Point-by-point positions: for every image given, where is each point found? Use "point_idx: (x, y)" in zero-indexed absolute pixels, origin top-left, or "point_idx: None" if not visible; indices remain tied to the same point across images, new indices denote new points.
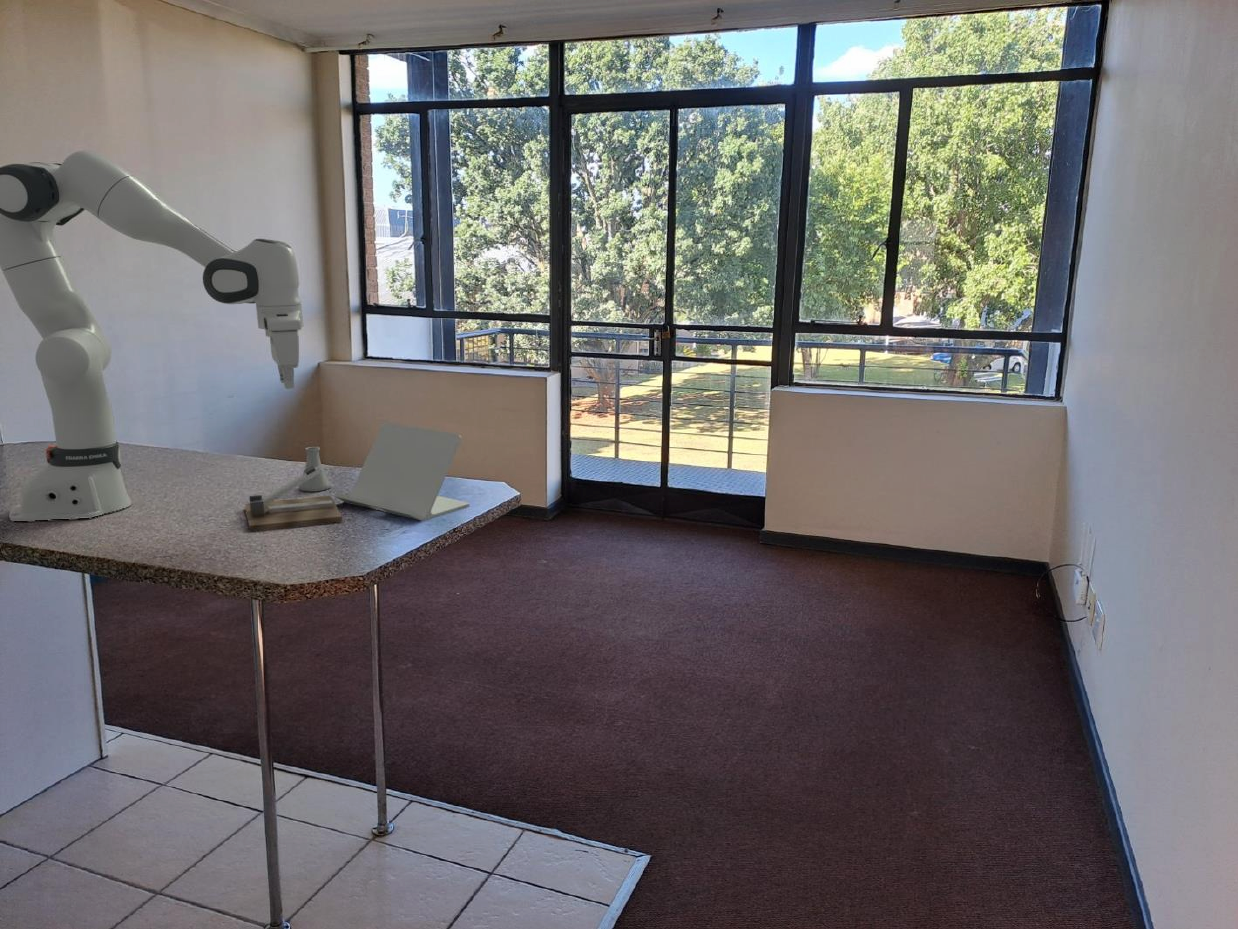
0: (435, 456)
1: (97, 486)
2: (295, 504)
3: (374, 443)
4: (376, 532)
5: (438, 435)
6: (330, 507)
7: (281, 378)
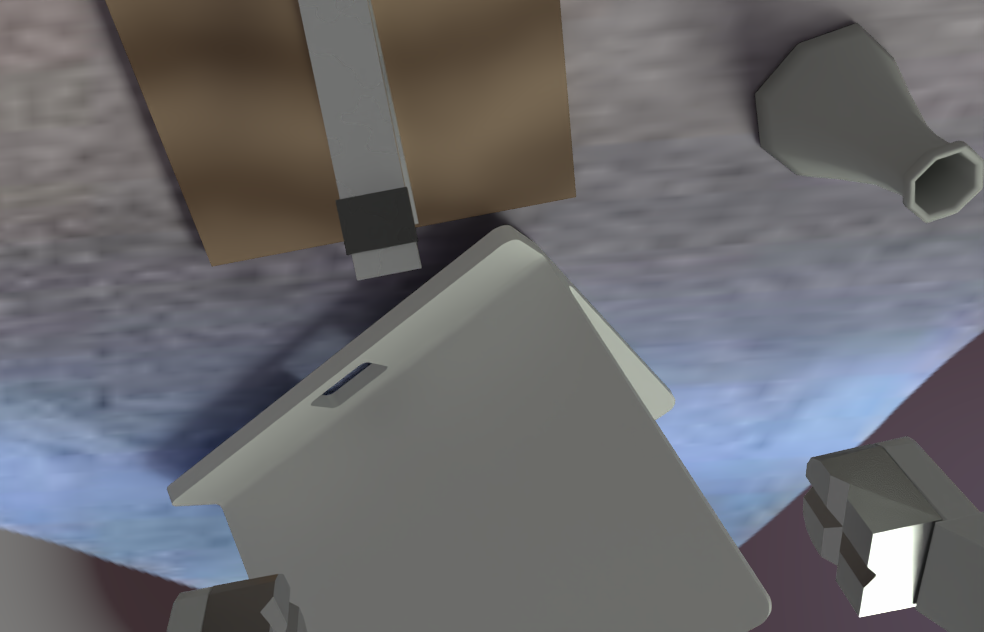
0: None
1: None
2: None
3: (695, 502)
4: (60, 375)
5: None
6: None
7: (848, 501)
